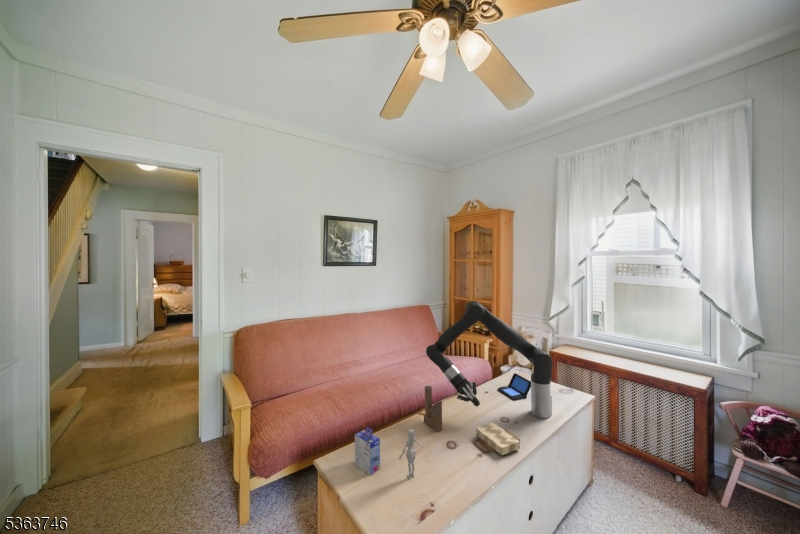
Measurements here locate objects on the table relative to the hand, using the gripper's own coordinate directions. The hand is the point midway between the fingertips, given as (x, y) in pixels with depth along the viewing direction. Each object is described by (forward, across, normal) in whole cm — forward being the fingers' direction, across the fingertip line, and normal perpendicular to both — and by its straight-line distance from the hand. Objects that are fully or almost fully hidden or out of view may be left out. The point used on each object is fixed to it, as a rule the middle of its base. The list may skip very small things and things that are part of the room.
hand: (478, 405), depth 144 cm
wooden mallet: (-7, -22, +8) cm, 25 cm away
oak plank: (+9, -6, -2) cm, 11 cm away
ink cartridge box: (-11, -58, -9) cm, 60 cm away
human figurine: (+2, -48, -16) cm, 50 cm away
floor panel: (+15, -7, -6) cm, 18 cm away
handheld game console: (+10, +35, +26) cm, 45 cm away
